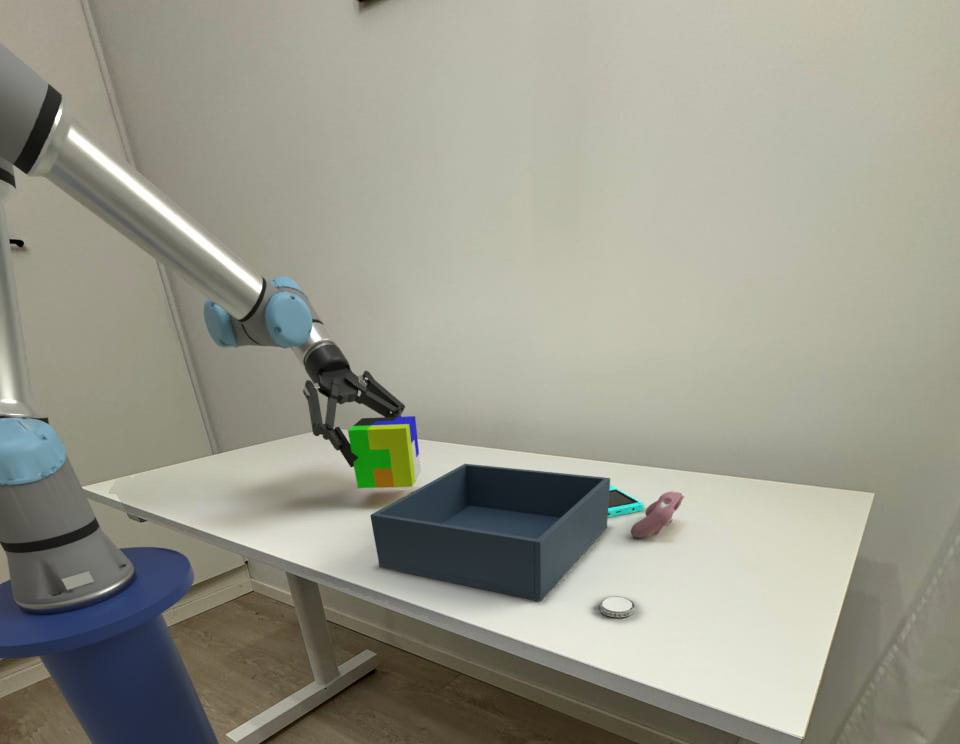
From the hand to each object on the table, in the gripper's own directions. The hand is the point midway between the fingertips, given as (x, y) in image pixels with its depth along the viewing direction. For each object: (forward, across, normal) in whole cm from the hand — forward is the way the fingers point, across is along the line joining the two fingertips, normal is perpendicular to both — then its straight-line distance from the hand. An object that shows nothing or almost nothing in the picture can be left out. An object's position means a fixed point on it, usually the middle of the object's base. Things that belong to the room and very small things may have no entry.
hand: (383, 454), depth 101 cm
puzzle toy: (+4, 0, -3) cm, 5 cm away
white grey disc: (+46, +9, +34) cm, 57 cm away
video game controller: (+39, -16, +28) cm, 50 cm away
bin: (+28, +4, +17) cm, 33 cm away
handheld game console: (+29, -21, +17) cm, 39 cm away
